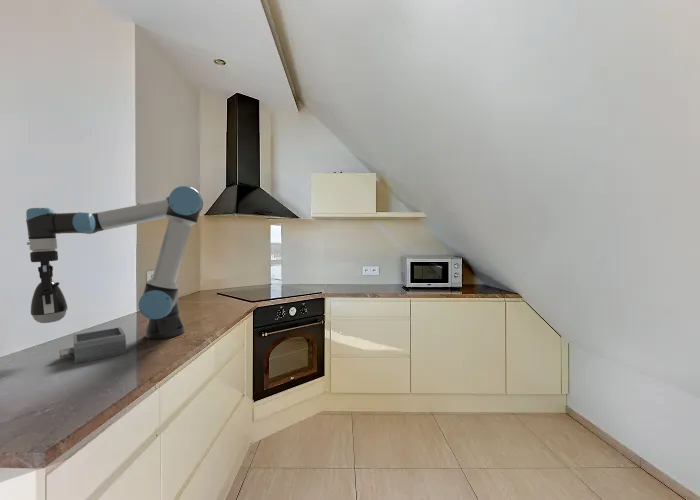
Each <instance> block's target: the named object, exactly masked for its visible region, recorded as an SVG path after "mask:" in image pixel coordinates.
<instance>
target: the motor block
mask: <svg viewBox="0 0 700 500" xmlns="http://www.w3.org/2000/svg"><path fill="white" fill-rule="evenodd" d="M72 336H73V337H72V338H73V341H72V343H73V347H67V348H64V349H63V348H62V349H59V359H65V358H69V357H74V364H82V363H85V362H91V361H96V360H99V359H100V360H101V359H105V358H110V357H114V356H119V355H124V354H127V353H128V352H127V341H126V340H127V339H126V333H125V332H124V330H123V328H122V327H121V326H119V327H113V328H106V329H101V330H94V331H88V332H83V333H76V334H72Z"/></svg>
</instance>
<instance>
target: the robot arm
mask: <svg viewBox="0 0 700 500" xmlns="http://www.w3.org/2000/svg"><path fill="white" fill-rule="evenodd" d="M203 206H204V202H203V198H202V195H201V194H200V192H199V191H198V190H197V189H196V188H194V187H190V186H188V185H181V186H177V187H175V188H174V189H172V191H171V192H170V194H169V196H167V197H166V198H165V199H164V200H158V201H154V202H147V203H142V204H137V205H131V206H125V207H121V208H120V207H119V208H115V209H109V210H105V211H100V212H94V213H91V212H81V211H79V212H63V213H62V212H60V213H57V212H55V211H54V209H53V208H50V207H31V208H30V207H29V208H28V209H26V212H25V213H26V215H25V216H26V217H25V218H26V220H25V222H26V227H27V235H28V241H27V242H26V245H28V247H29V251H30V253H29V257H30V262H31V263H40V266H38V267H37V270H38V273H39V274H38V275H39V279H40V283H41V285H42V293H40V296H42V297H43V307H44V314H48V313H54V304H53V294H52V289H51V281H53V276H54V274H53V272H54V266H53V265H51V263H50V262H55V261H58V260H59V253H58V251H57V250H56V249H58V243H57V241H58V240H57V235H59V234H86V235H91V234H95V233H98V232H102V231H106V230H112V229H117V228H121V227H126V226H133V225H137V224H141V223H147V222H152V221H156V220H157V221H159V220H161V219H167V221H168V222H167V225H166V229H165V233H164V235H163V236H164V237H163V239H162V243H161V246H160V249H159V254H158V257H157V260H156V264H155V268H154V270H153V271H154V272H153V275H152V278H150V279H149V280H147V281H146V283H145V286H144V290H143V293H142V295H141V297H140V298H139V300H138V310H139V312H140V313H141V315H142V316H144V317H145V318H147V319H148V322H147V325H146V329H145V338H146V339H149V340H161V339H162V340H163V339H169V338H172V337H177V336H180V335H182V334H184V333H185V325H184V323H183V321H182V319H181V317H180V308H179V307H180V305H179V285H178V283H177V279H178V276H179V272H180V268H181V265H182V261H183V259H184V258H183V257H184V253H185V252H186V251H185V250H186V247H187V243H188V240H189V236H190V232H191V230H192V229H191V228H192V227H193V226H194V225H197V223H198V220H199V216H200V213H201V212H202V209H203V208H204V207H203Z"/></svg>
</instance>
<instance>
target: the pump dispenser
mask: <svg viewBox="0 0 700 500" xmlns="http://www.w3.org/2000/svg"><path fill="white" fill-rule="evenodd" d="M59 285H60V282H58V281H57V282H54V281H53V280H52V281H51V289H52V294H53V304H54V313H48V314H44V307H43V297H42V296H40V293H42V285H41V282H39V283H38V284H37V286H36V287H35V289H34V292H33V296H32V298H31V303H30V315H31V316H32V318H33V320H35V322H38V323H40V324H49V323H50V324H51V323H55V322H59V321H61V320H62V319H63V318H64V317H65V316H66V314H67V311H68V310H69V309H68V304H67V300H66V298H65V296H64V293H63V292H62V290H61V288H60V286H59Z"/></svg>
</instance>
